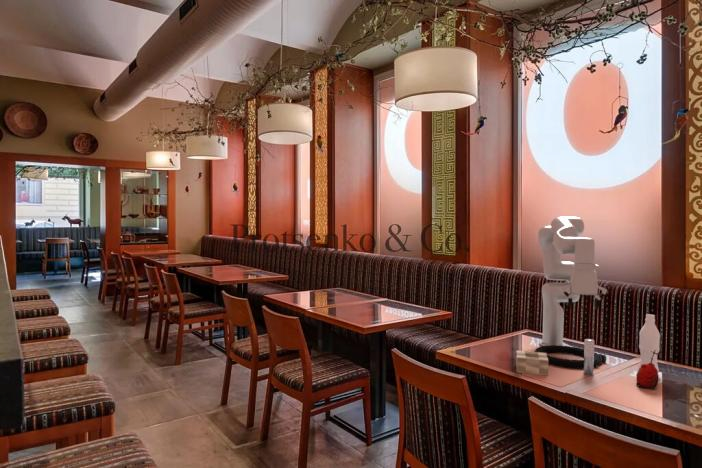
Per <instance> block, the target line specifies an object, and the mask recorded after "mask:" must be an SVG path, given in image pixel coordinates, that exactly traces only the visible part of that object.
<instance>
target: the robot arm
mask: <svg viewBox="0 0 702 468" xmlns="http://www.w3.org/2000/svg"><path fill="white" fill-rule="evenodd" d="M584 230H585V222H584V221H583V219H582V218H580V217H579V216H578V217H577V216H557V217H555V218H553V219H552V221H551V222H550V225H545V226H543V227H541V228H539V230H538V232H537V238H538V243H539V247H540V250H541V252H542V263H543V264H542V265H543V275H544V278H546V280H549V281H550V282H547V283H544V284H543V285H542V287H541V295H542V340H539V342H538V345H540V346H541V347H542V346H550V345H557V346H567V344H566V342H564V315H565V313H564V308H563V307H562V306H561V305H560V303H567V306H568V307H569V308H570V309H573V303H576V302H578V301H579V299H580V297H581V295H584V296H594V297H595V299H594V309H595V310H597V311H598V310H599V308H600V305H601V303H600V302H601V299H603V298H604V297H605V295H606V294H607V292H608V289H607V288H605V287H602V285H601V286H600V285H599V284H598V275H597V271H596V269H599V264H595V249H596V248H595V245H596V243H595V239H594V238H592V237H583V236H582V237H581V235H583V232H584ZM562 255H574V258H573V259H574V262H572V261H563V260H562ZM551 281H566V282H551ZM599 290H600V291H601V293H600V294H598V292H599Z"/></svg>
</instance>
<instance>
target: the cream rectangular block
mask: <svg viewBox="0 0 702 468" xmlns="http://www.w3.org/2000/svg"><path fill="white" fill-rule="evenodd" d="M515 351H516V353H515V354H516V355H515V357H516V359H515V360H516V361H515V366H516V367H515V368H516V373H519V374H521V373H523V374H533V375H542V376H549V364H548V358H547V355H548V353H541V352H534V351H529V350H518V349H516V350H515Z"/></svg>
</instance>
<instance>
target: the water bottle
mask: <svg viewBox="0 0 702 468" xmlns="http://www.w3.org/2000/svg"><path fill="white" fill-rule="evenodd" d="M644 321H645V322H644V325H643V326H642V327H641V329H640V330H639V342H638V343H639V344H638V348H639V352H640V361H639V364H638V366H637V367H638V369H637V370H639V368H640V367H641V365H642V364H649V363H650V362H651V358H652V356H653V352H654V351H655V350H656V351H655V353H658V354H659V352H660V343H661V341H660V339H661V334H660V332H659V329H658V327H657V325H656V315H655V314H650V313H646V314H645V319H644ZM651 351H652V352H651ZM652 364H654V365H655V368H656V369H657V371H658V374H659V373H660V370H659V369H660V368H659V365H658V355H656V354H654V356H653V360H652Z"/></svg>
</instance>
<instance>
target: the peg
mask: <svg viewBox="0 0 702 468" xmlns="http://www.w3.org/2000/svg"><path fill="white" fill-rule="evenodd" d="M583 347H584V348H583V349H584V357H583V360H584V368H583V375H586V376H594V368H595V367H594V353H595V340H594V339H591V338H585V339H584V345H583Z"/></svg>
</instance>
